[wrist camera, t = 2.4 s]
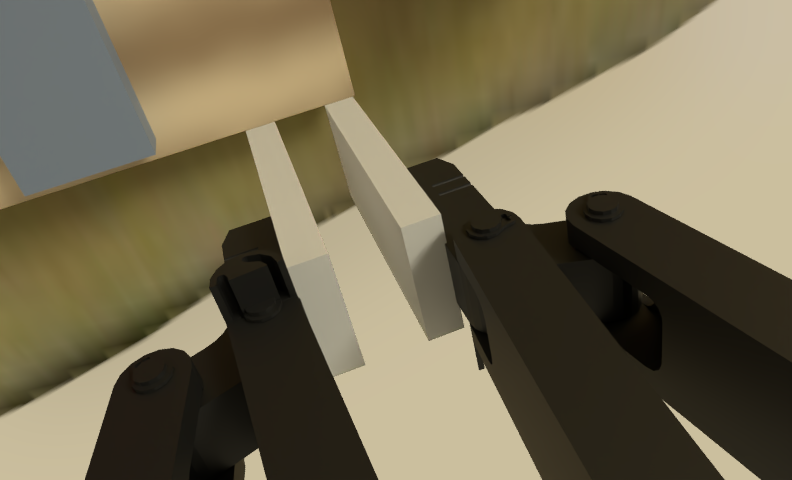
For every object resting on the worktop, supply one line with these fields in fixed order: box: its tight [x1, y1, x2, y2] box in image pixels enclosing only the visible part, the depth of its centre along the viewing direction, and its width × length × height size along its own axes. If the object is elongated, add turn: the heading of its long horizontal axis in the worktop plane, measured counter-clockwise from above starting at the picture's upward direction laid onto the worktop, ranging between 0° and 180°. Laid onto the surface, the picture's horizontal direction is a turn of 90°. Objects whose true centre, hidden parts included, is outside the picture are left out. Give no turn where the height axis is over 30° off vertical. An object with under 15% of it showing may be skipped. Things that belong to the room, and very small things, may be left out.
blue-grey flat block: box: [0, 0, 156, 196], centre depth 29 cm, size 8×6×2 cm
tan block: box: [0, 0, 355, 209], centre depth 32 cm, size 10×20×4 cm, turn 103°
